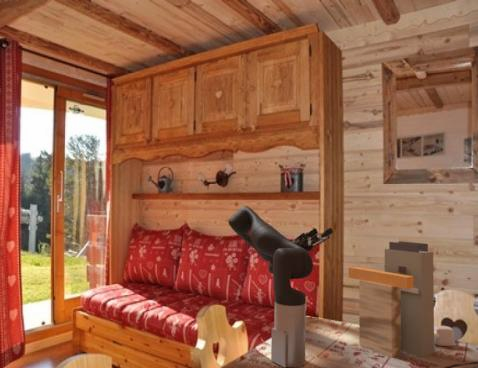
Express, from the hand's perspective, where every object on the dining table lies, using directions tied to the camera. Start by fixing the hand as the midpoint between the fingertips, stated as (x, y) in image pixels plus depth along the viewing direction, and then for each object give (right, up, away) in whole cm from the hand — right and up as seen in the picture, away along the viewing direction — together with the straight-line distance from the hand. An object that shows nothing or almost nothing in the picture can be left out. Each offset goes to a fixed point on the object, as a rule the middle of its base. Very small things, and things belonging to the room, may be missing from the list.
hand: (324, 230), depth 151 cm
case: (+22, -36, -25) cm, 49 cm away
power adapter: (+34, -37, -19) cm, 53 cm away
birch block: (+12, -36, -25) cm, 45 cm away
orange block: (+13, -14, -24) cm, 31 cm away
